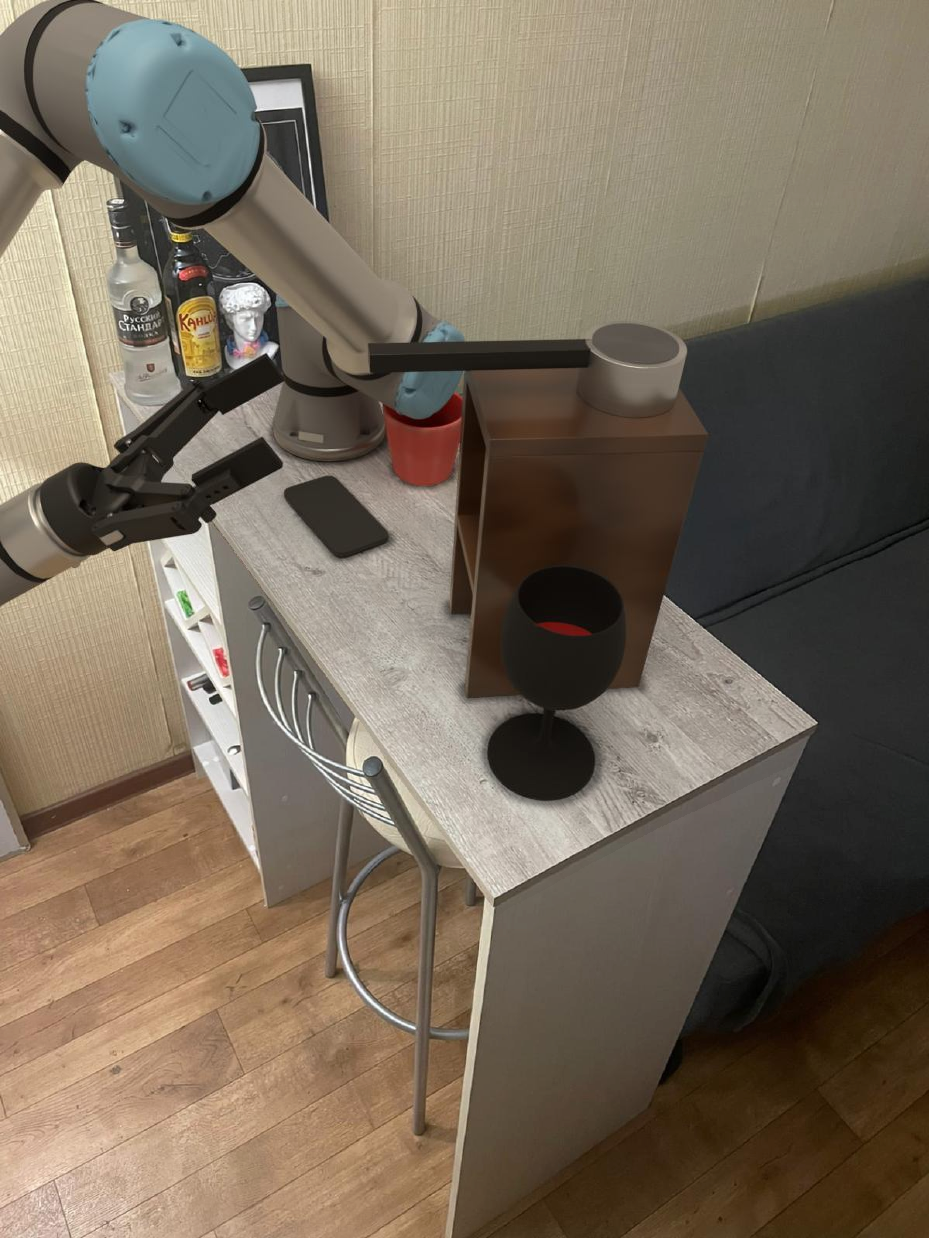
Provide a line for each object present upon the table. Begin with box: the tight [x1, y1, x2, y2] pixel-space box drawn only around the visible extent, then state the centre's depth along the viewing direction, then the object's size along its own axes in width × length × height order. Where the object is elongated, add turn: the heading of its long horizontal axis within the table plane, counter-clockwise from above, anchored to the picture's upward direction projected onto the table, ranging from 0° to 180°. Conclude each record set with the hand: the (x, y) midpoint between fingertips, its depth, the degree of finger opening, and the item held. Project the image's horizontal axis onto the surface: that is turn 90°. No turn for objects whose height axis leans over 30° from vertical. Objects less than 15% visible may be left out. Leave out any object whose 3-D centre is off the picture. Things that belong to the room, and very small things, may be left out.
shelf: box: [448, 368, 709, 699], centre depth 88 cm, size 18×14×30 cm
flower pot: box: [382, 391, 463, 487], centre depth 118 cm, size 11×11×10 cm
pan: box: [368, 320, 688, 418], centre depth 75 cm, size 26×8×5 cm, turn 99°
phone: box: [283, 475, 389, 558], centre depth 112 cm, size 7×1×15 cm
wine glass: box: [486, 565, 626, 801], centre depth 80 cm, size 10×10×20 cm
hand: (274, 406), depth 74 cm, fingers open, 13 cm apart
